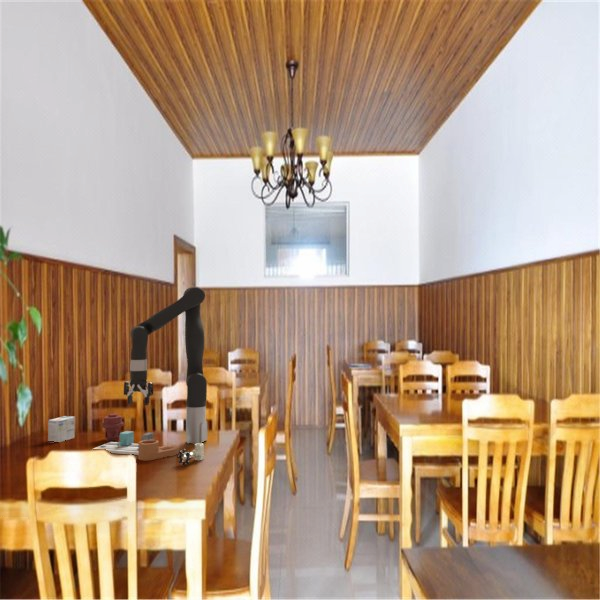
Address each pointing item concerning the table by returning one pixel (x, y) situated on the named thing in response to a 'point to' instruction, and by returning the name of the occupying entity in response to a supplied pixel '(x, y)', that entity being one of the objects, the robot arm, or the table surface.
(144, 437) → the fixed leg
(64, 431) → the light bulb box
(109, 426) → the mechanical component
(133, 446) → the gauge board
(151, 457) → the bracket
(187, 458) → the valve
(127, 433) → the sliding leg
